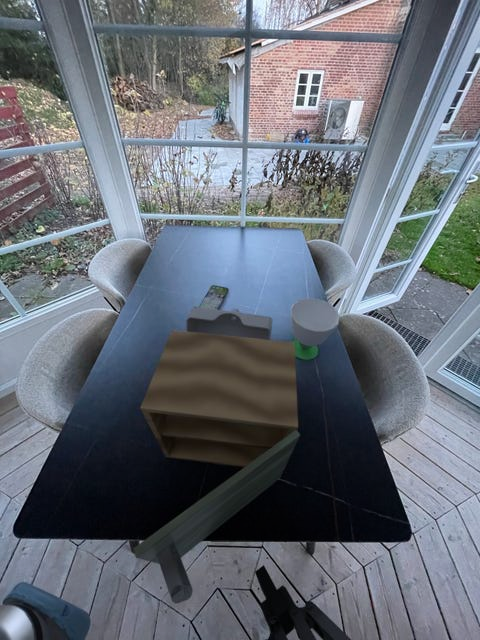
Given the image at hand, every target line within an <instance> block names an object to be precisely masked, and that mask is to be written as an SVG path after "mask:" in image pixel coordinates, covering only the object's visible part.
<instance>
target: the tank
mask: <svg viewBox="0 0 480 640" xmlns="http://www.w3.org/2000/svg"><path fill="white" fill-rule="evenodd" d="M185 323H186V325H185V329H186V330H185V332H194V333H204V334H214V335H224V336H234V337H244V338H254V339H264V340H271V336H272V327H273V318H272V317H270V316H266V315H259V314H252V313H247V312H246V313H245V312H240V310H239V309H238V308H232V309H231V311H230V310H222V309H219V310H216V309H209V308H202V307H199V306H192V307H191V309H190V311H189V313H188V315H187V318H186V321H185Z"/></svg>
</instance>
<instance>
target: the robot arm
mask: <svg viewBox="0 0 480 640" xmlns="http://www.w3.org/2000/svg"><path fill="white" fill-rule="evenodd" d="M254 573H255V576H256V578H257V582H258V584H259V585H258V586H259V587H260V590H261V593H262V594H263V596H264V598H265V599H264V600H263V601H262V602H260V609H261V612H262V615H263V618H264V620H265V622H266V624H267V627H268V629H269V636H268V638H267V639H265V640H289V639H288V638H289V637H287V636H288V635H289V634H290V633H291V632H292V631H294V630H295V633H296V635H297V638H298V639H299V640H317V638H316V636H315V635H314V633H313V631H314V632H315V633H316V635H317V636H318V637H319V638H320V639H321V640H352V638H350V637H349V635H347V634H346V632H344V630H342V629H341V627H340V626H339V625H337V624H336V623H335V622H334V621H333V620H332V619H331V618H330V617H329V616H328V615H327V614H326V613H325V612H324V611H323V610H322V609H321V608H320V607H318V606H317V604H316V603H314V602H313V601H312V600H308V601H306V602H305V604H304V606H301V607H300V606H297V604H296V602H295V601H294V599H293V598H292V596H291V594H290V592H289V591H288V588H287V587H286V586H285V585H281V586H280V587H278V588H277V586H276V585H275V583H274V581H273V579H272V577H271V576H270V574H269V572H268V570H267V568H266V566H265V565H264V564H263V565H262V566H261V567H259V568H258V569H256V570H255V571H254ZM91 621H92V620H91V616H90V614H89V613H88V612H87V611H86V610H84V609H82V608H81V607H78V606H77V605H75V604H73V603H71V602H69V601H67V600H66V599H63V598H61V597H59V596H57V595H55V594H53V593H50V592H48V591H46V590H45V589H42V588H40V587H37V586H35V585H33V584H30V583H29V582H25V581H20V582H18V583H17V584H16V585H14V587H13V588H12V589H11V591H10V592H9V593H8V594H6V596H5V597H4V598H3V600H2V604H1V605H0V640H86V638H87V636H88V634H89V631H90V628H91V624H92V623H91ZM312 630H313V631H312Z"/></svg>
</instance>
